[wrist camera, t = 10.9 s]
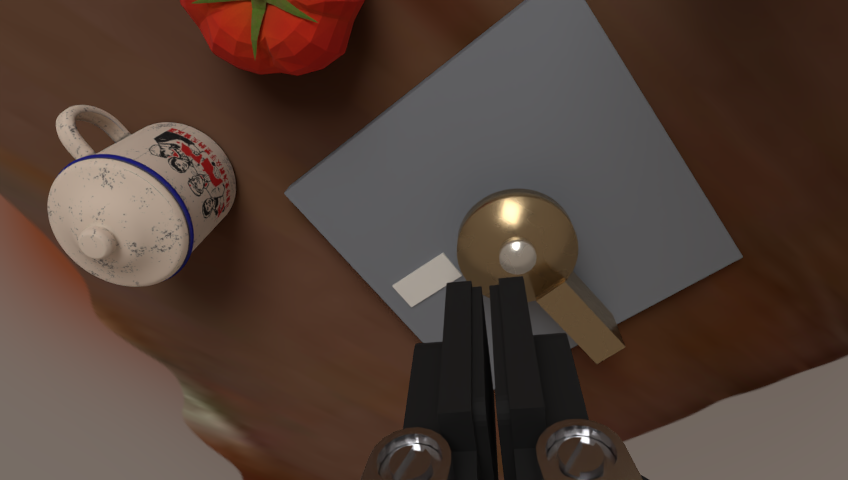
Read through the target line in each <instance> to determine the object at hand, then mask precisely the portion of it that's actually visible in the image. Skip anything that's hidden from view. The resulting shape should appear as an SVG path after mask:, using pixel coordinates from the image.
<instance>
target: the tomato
mask: <svg viewBox="0 0 848 480" xmlns="http://www.w3.org/2000/svg"><path fill="white" fill-rule="evenodd" d="M364 1H365V0H180V3H181V5H182V6H183V8H184V9H185V10H186V12H187V13H188V14H189V15H190V17H191V18H192V19H193V21H194V22H195V23H196V24H197V26H198V27H199V28H200V30H201V32H202V34H203V36H204V38H205V40H206V41H207V43H208V45H209V47H210V49H211V51H212V52H213V53H214V54H215V55H216V56H218V57H220V58H222V59H223V60H225V61H227V62H228V63H230V64H232V65H234V66H235V67H237V68H239V69H242V70H246V71H249V72H253V73H256V74H260V75H262V74H272V73H286V74H291V75H296V76H299V75H302V74H306V73H310V72H314V71H317V70H321V69H324V68H325V67H327V66H328V65H329V64H331V63H332V62H333V61H335V60H336V59H337V58H339V57H340V56H341V55H343V54H344V53H345V51H346V48H347V45H348V41H349V37H350V34H351V30H352V27H353V23H354V20H355V18H356V16H357V14H358V12H359V10H360V9H361V7H362V5H363V3H364Z"/></svg>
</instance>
